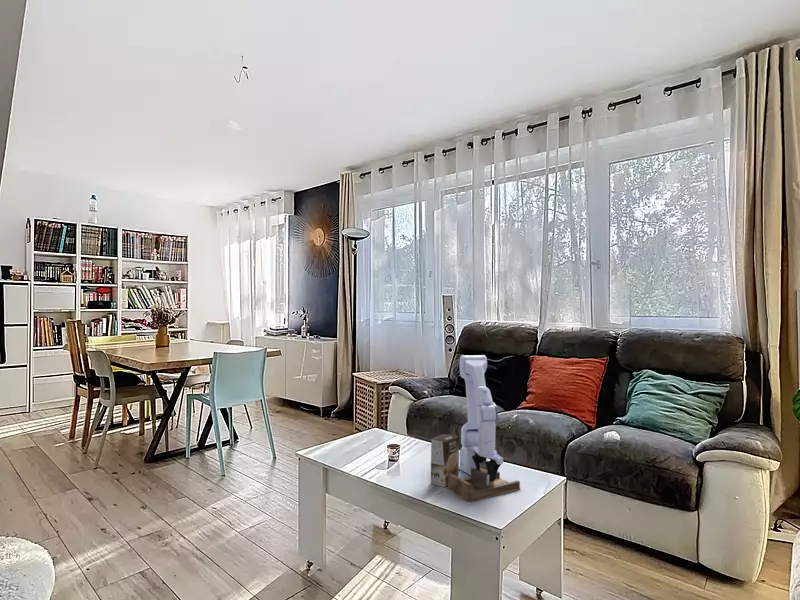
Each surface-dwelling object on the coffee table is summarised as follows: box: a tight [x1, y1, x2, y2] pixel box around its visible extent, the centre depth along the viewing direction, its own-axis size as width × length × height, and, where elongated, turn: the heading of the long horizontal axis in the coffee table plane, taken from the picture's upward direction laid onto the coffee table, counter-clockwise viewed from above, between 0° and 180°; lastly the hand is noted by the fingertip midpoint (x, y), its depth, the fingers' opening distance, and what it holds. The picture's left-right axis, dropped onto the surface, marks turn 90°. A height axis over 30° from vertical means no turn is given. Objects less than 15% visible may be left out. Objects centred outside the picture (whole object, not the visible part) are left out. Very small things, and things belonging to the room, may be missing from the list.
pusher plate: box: [470, 467, 489, 490], centre depth 169 cm, size 8×1×6 cm, turn 30°
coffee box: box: [430, 433, 460, 488], centre depth 176 cm, size 9×6×16 cm
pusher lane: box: [447, 471, 521, 503], centre depth 170 cm, size 12×22×6 cm, turn 120°
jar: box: [479, 460, 494, 487], centre depth 170 cm, size 5×5×8 cm
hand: (486, 478), depth 170 cm, fingers closed on jar, 5 cm apart
